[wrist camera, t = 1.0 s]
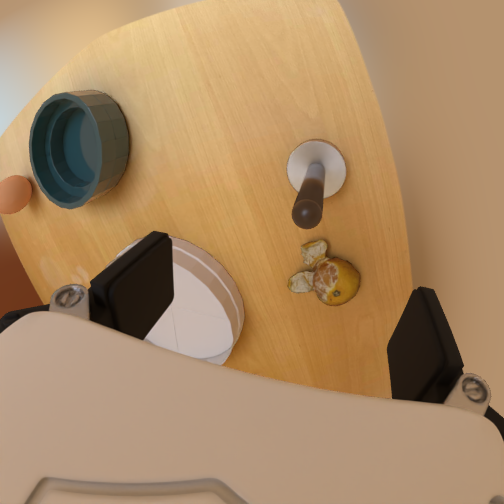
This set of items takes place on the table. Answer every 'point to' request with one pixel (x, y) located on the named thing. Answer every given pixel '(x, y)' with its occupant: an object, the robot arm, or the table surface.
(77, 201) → the bowl
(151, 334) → the dish
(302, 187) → the upright rod
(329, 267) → the fruit
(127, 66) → the table surface
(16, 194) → the egg
